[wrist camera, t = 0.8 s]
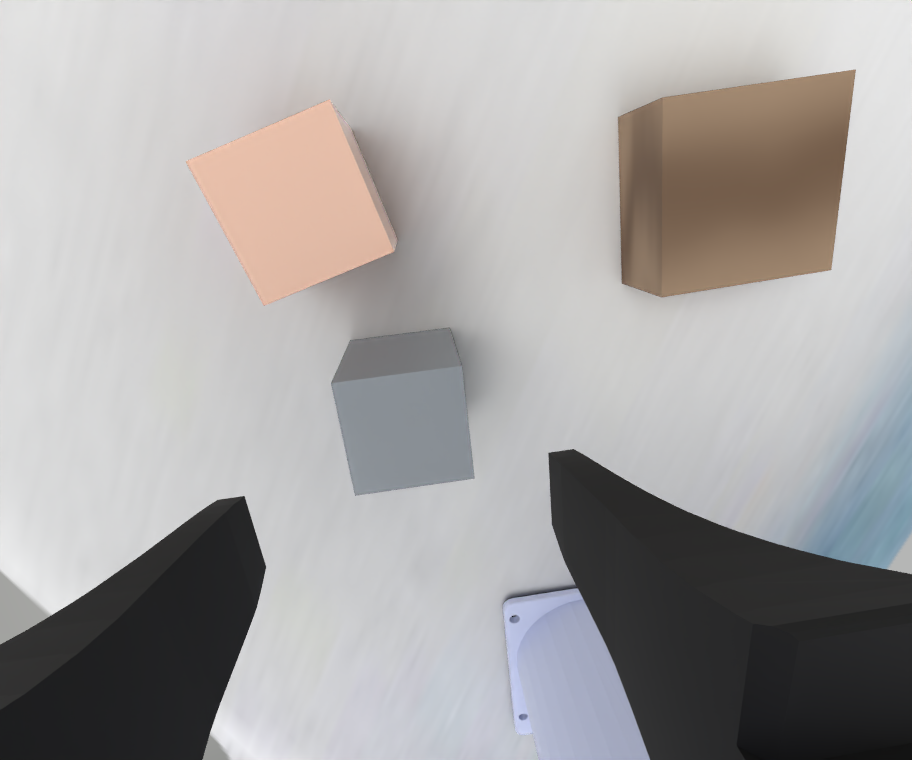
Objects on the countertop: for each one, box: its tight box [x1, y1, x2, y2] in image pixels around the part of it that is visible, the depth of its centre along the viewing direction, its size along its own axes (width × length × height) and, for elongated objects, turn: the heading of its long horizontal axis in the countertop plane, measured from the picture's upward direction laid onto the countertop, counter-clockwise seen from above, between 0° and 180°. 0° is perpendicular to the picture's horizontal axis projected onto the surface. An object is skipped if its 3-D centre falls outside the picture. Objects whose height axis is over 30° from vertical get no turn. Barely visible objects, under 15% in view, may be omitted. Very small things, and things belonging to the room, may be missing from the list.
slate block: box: [331, 328, 474, 496], centre depth 18 cm, size 4×4×5 cm
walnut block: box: [618, 70, 856, 297], centre depth 17 cm, size 6×6×4 cm
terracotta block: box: [186, 100, 398, 306], centre depth 15 cm, size 4×4×5 cm
